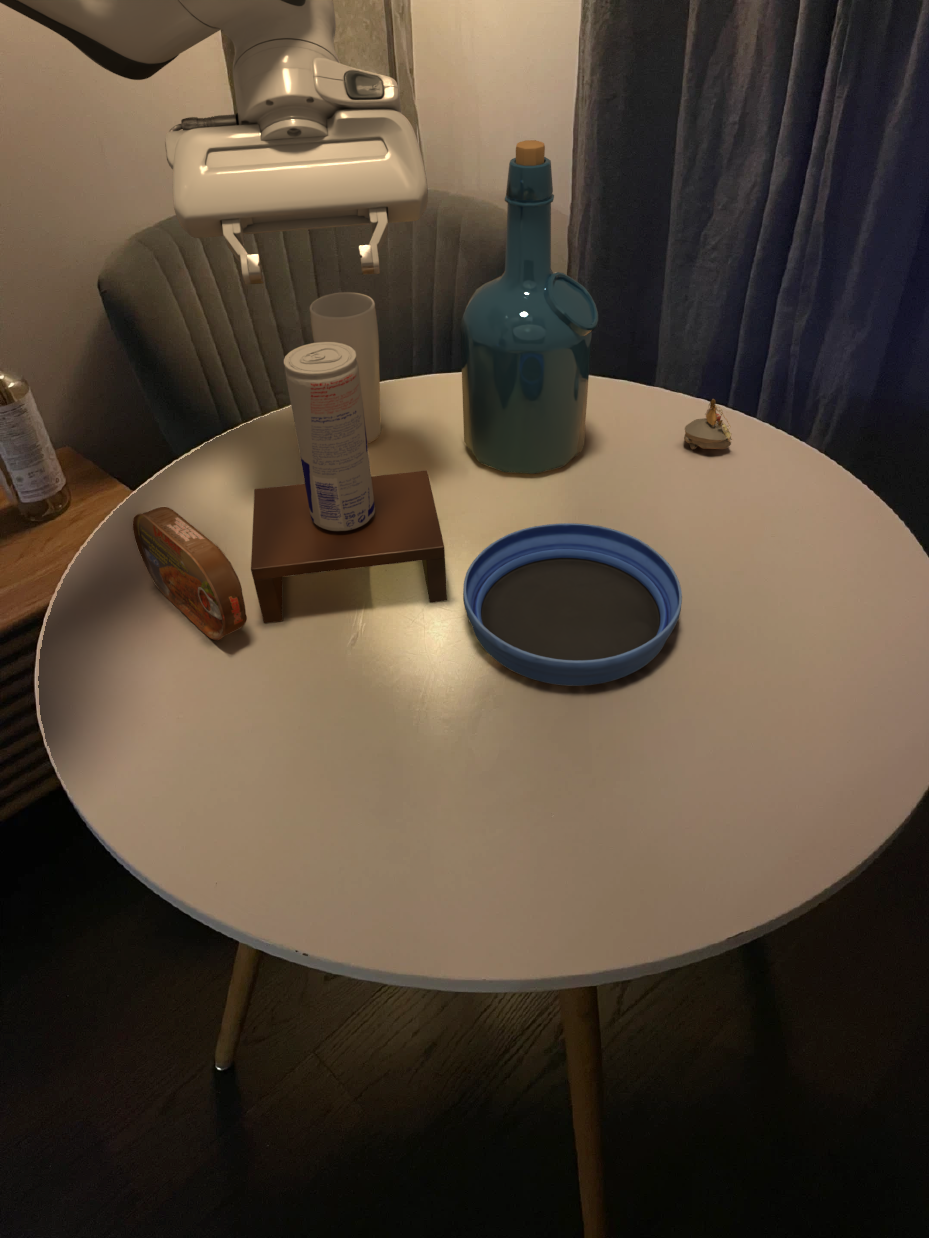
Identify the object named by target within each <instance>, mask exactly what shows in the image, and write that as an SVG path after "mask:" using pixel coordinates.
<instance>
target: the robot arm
mask: <svg viewBox="0 0 929 1238" xmlns="http://www.w3.org/2000/svg"><path fill="white" fill-rule="evenodd" d="M0 4H2V5H4V6H6V7H7V8H9V9H11V10H13V11H15V12H16V13H19V14H20V15H23V16H25V17H26V18H28V19H30V20H32V21H34V22H36V23H38V24H40V25H42V26H43V27H45V28H47V29H49V30H51V31H53V32H54V33H55V34H57V35H59V36H61V37H62V38H64V39H65V40H66V41H68V42H69V43H71V44H72V45H73V46H74V47H75V48H77V49H78V51H80V52H81V53H82V54H83V55H85V56H86V57H87V58H89V59H90V60H91V61H92V62H94V63H96V64H97V65H98V66H100V67H101V68H103V69H105V70H107V71H109V72H110V73H112V74H115V75H117V76H119V77H122V78H124V79H128V80H134V81H143V80H147V79H150V78H151V77H152V76H154V75H156V74H157V73H158V72H159V71H161V70H162V69H164V68H165V67H166V66H167V65H169V64H170V63H172V62H173V61H174V60H175V59H176V58H178V57H179V55H180V54H182V53H184V52H185V51H187V50H189V49H190V48H192V47H194V46H195V45H197V44H199V43H201V42H203V41H205V40H206V39H207V38H209V37H212V35H214V34H216V33H218V32H219V31H220V32H221V33H222V34H223V35H225V36H226V37H227V38H228V39H230V40H231V42H232V44H233V47H234V55H233V63H232V78H233V87H234V96H235V103H236V113H235V114H234V113H233V114H232V113H231V114H219V115H214V116H208V117H197V116H191V117H185V118H182V119H181V120H180V123H178V124H176V125H174V126H172V127H171V128H170V129H169V130H168V131H167V132H166V135H165V138H164V140H165V141H164V148H165V157H166V161H167V163H168V166H169V167H170V169H172V201H173V202H172V203H173V209H174V210H173V211H174V214H175V217H176V219H177V221H178V223H179V225H180V227H181V228H182V229H183V230H184V231H185V232H186V233H187V234H188V235H189V236H190V237H191V238H193V239H205V238H206V239H207V238H218V237H219V238H220V237H224V240H225V244H226V246H227V248H228V249H229V251H230V252H231V253H232V255H233V256H234V257H235V258H236V260H237V261H238V263H239V264H240V267H241V274H242V279H243V282H244V285H245V286H247V285H259V284H264V276H263V265H262V261H261V259H260V254H259V253H254V254H253V253H252V254H249V253H248V252H247V250H246V248H244V246H245V245H246V242H245V235H255V234H257V235H258V234H267V233H281V232H293V231H305V230H306V231H307V230H319V229H331V228H343V227H356V226H367V225H369V229H370V235H371V238H370V241H369V243H368V244H365V245H363V244H362V245H358V252H359V262H360V271H361V275H363V276H364V275H378V274H380V259H379V254H380V252H381V250H382V248H383V246H384V244H385V241H386V239H387V236H388V235H389V231H388V230H389V229H388V227H389V226H388V225H389V224H395V223H405V222H406V223H407V222H417V221H419V220H420V219H421V218H422V217H423V215H424V214H425V211H426V210H427V207H428V199H429V197H428V196H429V190H428V188H429V187H428V181H427V175H426V169H425V164H424V160H423V156H422V151H421V149H420V146H419V141H418V138H417V135H416V132H415V130H414V127H413V125H412V124H411V122H410V121H409V119H408V118H407V117H406V116H405V115H404V114H403V113H402V104H401V96H400V90H399V85H398V82H397V81H396V79H394V78H393V77H391V76H388V75H384V74H380V73H376V72H372V71H368V70H364V69H360V68H357V67H354V66H349V65H346V64H343V63H341V61H340V59H339V56H338V54H337V51H336V49H335V36H336V32H337V31H336V30H337V29H336V28H337V21H336V14H335V5H334V0H0Z"/></svg>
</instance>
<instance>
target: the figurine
mask: <svg viewBox="0 0 929 1238" xmlns="http://www.w3.org/2000/svg"><path fill="white" fill-rule="evenodd" d="M716 403H717V402H716V399H714V398H712V399H711V400H710V401H709V404H708V409H707V410H706V413H705V418H704V417H703V418H697V419H693V420H692V421H691V422H689V423H688V424H686V425H685V426H684V436H683V440H684V441H685V442H686V443H688V445H689V447H690V449H691V450H695V449H696V448H698V447H699V448H700V449H703V450H725V449H727V448H730V447H731V445H732V443H733V441H734V439H733V438H732V435H733V433H732V432H731V431H730V429H731V423H730V422H729V421H728V419H727V418H726V416H725V415H724V413H723V412H724V411H723V409H722V407H719V406H717V405H716ZM717 412H719V413H717ZM722 416H723V417H724V419H725V420H726V422H727V424H728V425H726V423H724V421H723V419H722Z"/></svg>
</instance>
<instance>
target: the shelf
mask: <svg viewBox="0 0 929 1238" xmlns="http://www.w3.org/2000/svg"><path fill="white" fill-rule="evenodd" d="M371 479H372V488H373V496H374V505H375V513H374V515H373V517H372V518H371V519H370V520H369V521H368V522H367V523H366V524H364V525H362V526H361V527H358V528H356V529H352V530H348V531H331V530H327V529H324V528H321V527H319V526H318V525H316V524H315V523H314V522H313V521H312V519H311V515H310V509H309V504H308V498H307V492H306V487H305V483H297V484H287V485H279V486H270V487H260V488H254V491H253V492H254V493H253V513H252V533H251V534H252V536H251V557H250V558H251V559H250V572H251V576H252V579H253V584H254V589H255V592H256V596H257V600H258V604H259V608H260V609H259V610H260V612H261V617H262V621H263V623H264V624H268V623H276V622H278V623H279V622H283V619H284V618H283V617H284V616H283V608H284V607H283V602H284V601H283V600H284V599H283V597H284V596H283V592H284V591H283V589H284V588H283V587H284V585H283V584H284V583H283V581H284V579H283V577H293V576H301V575H308V574H319V573H328V572H334V571H335V572H336V571H344V570H352V569H361V568H369V567H378V566H385V565H396V564H402V563H403V564H404V563H411V562H413V563H414V562H421V565H422V570H423V574H424V576H423V577H424V582H425V587H426V591H427V597H428V602H429V603H430V604H432V603H440V602H448V587H447V570H446V553H445V544H444V539H443V535H442V531H441V526H440V521H439V518H438V513H437V508H436V503H435V499H434V495H433V490H432V486H431V480H430V477H429V471H428V469H427V470H426V469H425V470H417V471H408V472H407V471H406V472H398V473H389V474H388V473H387V474H379V475H371Z"/></svg>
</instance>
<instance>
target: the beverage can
mask: <svg viewBox="0 0 929 1238" xmlns="http://www.w3.org/2000/svg"><path fill="white" fill-rule="evenodd" d="M283 365H284V370H285V379H286V383H287V389H288V396H289V401H290V406H291V411H292V412H291V413H292V419H293V424H294V429H295V435H296V441H297V447H298V452H299V458H300V464H301V468H302V474H303V481H304V484H305V487H306V492H307V498H308V504H309V509H310V515H311V519H312V521H313V522H314V523H315V524H316V525H318V526H319V527H321V528H324V529H327V530H331V531H348V530H352V529H356V528H358V527H361V526H362V525H364V524H366V523H367V522H368V521H369V520H370V519H371V518H372V517H373V515H374V513H375V505H374V496H373V488H372V479H371V476H372V472H371V463H370V455H369V447H368V446H369V445H368V444H367V437H366V428H365V420H364V411H363V403H362V394H361V386H360V377H359V368H358V363H357V361H356V352H355V350H354V349H353V348H351V347H350V346H348V345H345V344H342V343H336V342H318V343H314V342H311V343H308V344H304V345H300V346H298V347H296V348H294V349H292V350H290V351H289V352H288V353H287V354H286V355H285V356H284V359H283Z"/></svg>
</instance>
